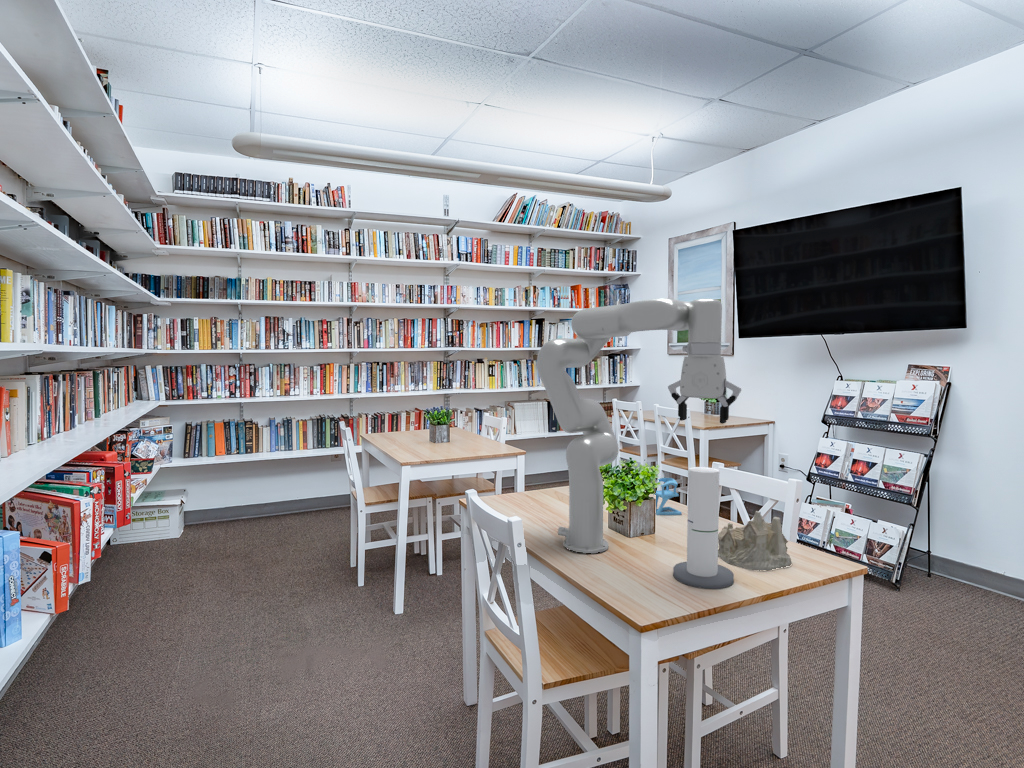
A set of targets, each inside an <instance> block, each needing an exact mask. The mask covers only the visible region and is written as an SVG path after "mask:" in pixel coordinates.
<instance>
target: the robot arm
mask: <svg viewBox="0 0 1024 768" xmlns="http://www.w3.org/2000/svg"><path fill="white" fill-rule="evenodd" d="M722 316H723V303H722V302H721V300H719V299H715V298H699V299H698V298H697V299H693V300H692V301H686V300H680V299H679V300H678V299H673V298H654V299H646V300H638V301H632V302H628V303H620V304H612V305H604V306H597V307H589V308H583V309H581V310H579V311H578V310H577V312H576V313H575V314H574V315H573V316H572V319H571V324H570V325H571V329H572V332H573V334H575V335H576V336H577V337H575V338H561V337H560V338H553V339H550V340H548V341H547V342H545V343H543V345H542V346H541V348H540V349H539V351H538V354H537V357H536V369H537V374H538V376H539V379H540V382H541V383H542V385H543V387H544V389H545V391H546V394H547V397H548V399H549V402H550V405H551V408H552V409H553V412H554V414H555V418H556V420H557V422H558V425H559V427H560V428H561V430H563V432H565V433H568V434H579V433H582V434H583V435H581V436H579V435H578V436H577V437H575V438H573V439H572V440H571V441H570V442H569V444H567V448H566V450H565V456H566V457H565V459H566V463H567V464H566V465H567V470H568V481H569V482H568V489H569V491H568V492H569V493H568V494H569V495H568V497H569V498H568V499H569V500H568V503H569V505H568V507H569V508H568V512H569V513H568V514H569V515H568V518H569V519H568V527H563V526H559V527H558V529H557V535H558V536H562V537H565V539H564V540H563V547H564V546H565V547H566V548H568V549H570V550H573V551H577V552H583V553H582V554H586V553H591V554H598V552H600V553H603V552H606V551H607V550H608V549H609V542H608V541H607V540H606V539H604V481H603V477H602V474H601V469H600V467H603V466H607V465H609V464H611V463H613V462H614V461H615V460H616V459H617V457H618V454H619V444H618V441H617V437H616V435H615V432H614V431H613V428H612V425H611V422H610V420H609V418H608V415H607V413H606V411H605V409H604V408H603V406H602V405H601V404H600V403H599V402H598V401H597V400H595V399H593V398H582V397H581V395H580V393H579V391H578V387H577V385H576V383H575V381H574V379H573V378H572V377H571V376H570V375H569V374H568V373H567V371H566V369H567V368H568V369H570V368H571V369H572V368H573V369H574V368H582V367H585V366H587V365H588V364H590V362H591V361H593V360H594V359H595V357H596V356H597V355H598V354H599V353H600V351H601V350H602V349H603V348H604V347H605V346H606V345H607V343H608V342H609V340H611V338H618V337H619V338H620V337H628V336H630V334H631V333H637V332H647V331H661V330H662V331H676V332H678V331H679V332H681V331H683V332H684V331H688V336H687V337H688V339H687V341H688V343H687V345H684V346H682V352H686V354H687V356H684V357H683V361H682V366H681V375H680V380H677V381H675V382H674V383H672V384H669V385H668V386H667V389H668V391H669V393H670V395H671V397H672V399H673V400H674V401H675V402H676V404H678V405H677V407H678V408H677V416H678V418H679V421H681V422H682V421H685V420H687V419H688V418H687V414H688V413H687V412H688V403H686V401H687V400H688V399H689V398H695V399H697V398H698V399H717V401H719V403H720V404H721V406H720V408H719V423H720V424H723V425H724V424H726V423H727V421H728V420H729V418H730V417H729V413H730V406H731V405H732V404H733V403H734V402H735V401H736V400H737V399H738V397H739V395H740V394H741V392H742V388H741V387H739V386H737V385H735V384H734V383H732V382H730V381H728V380H727V371H726V363H725V359H724V356H722V323H723V322H722V318H723V317H722ZM677 388H679V393H680V394H679V393H678V392H677ZM727 389H728V390H731V391H732V393H731V396H729V397H727V396H726V395H727ZM565 547H564V548H565ZM566 548H565V549H566ZM568 549H567V550H568ZM570 550H569V551H570ZM573 551H572V552H573ZM577 552H576V553H577Z"/></svg>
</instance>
